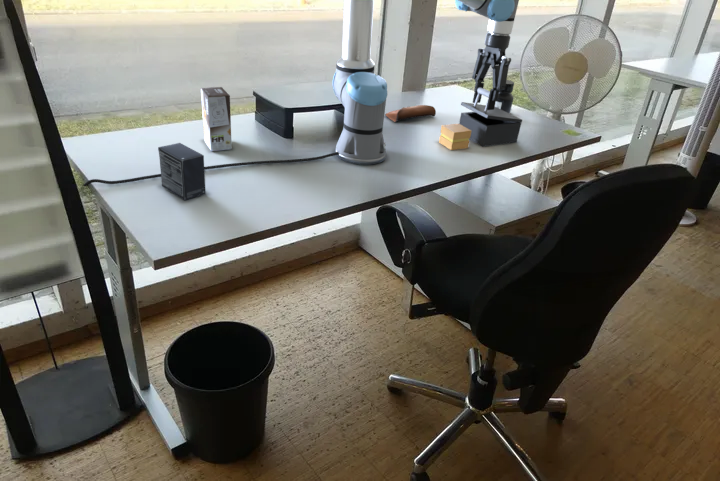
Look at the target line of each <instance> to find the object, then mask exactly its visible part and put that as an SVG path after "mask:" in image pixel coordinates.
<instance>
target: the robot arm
mask: <svg viewBox="0 0 720 481" xmlns="http://www.w3.org/2000/svg"><path fill="white" fill-rule="evenodd" d="M519 1H520V0H454V3H455V7H456V9H457V10H458V11H462V12H463V11H464V12H473V13H475V14H477V15H480V16H482V17H485V18H487V19H488V23H487V29H486V31H487V32H486V34H485V38H484V45H485V47H484V48H478V49H477V56H476V60H475V64H474V68H473V72H472V76H471V78H472V80H474V82H475V84H474V89H473V91H474V93H473V98H472V104H474V103H475V100H476V97H477V94H478V92H477V89H478V88H479V87H481V88H485V78H486V76H487V74H488V71H489V69H490V67H491V69H492V88H490V90H489V91H490V94H489V99H487V101H488V103H487V102H486V104H487V108H486V109H487V110H494V107H495V103H496V100H497V99H498V95H499V91H500V90H505V86H506V80H508V75H509V74H508V73H509V68H510V64H511V62H512V58H511V57H507V56H506V50H507V49H508V48H509V46H510V41H511V34H512V31H513V28H514V23H515V19H516V14H517V10H518V6H519ZM374 6H375V0H343V9H342V10H343V12H342V14H343V15H342V36H341V37H342V38H341V39H342V40H341V41H342V42H341V56H340V58H338V59H337V60H336V65H335V72H334V74H333V77H332V89H333V93H334V95H335V97H336V98H337V100H339V102H340V103H341V104H342V106H343V108H344V114H343V127H342V131H341V134H340V135H339V138H338V139H337V140H338V141H337V142H336V146H335V152H331V153H327V154H323V155H320V156H319V155H318V156H314V157H305V158H292V159H274V160H256V161H244V162H243V161H242V162H234V163H224V164H215V165H210V166H208V165H206V166H204V171H206V170H213V169H221V168H222V169H223V168H230V167H239V166H250V165H252V166H253V165H263V164H264V165H265V164H285V163H286V164H288V163H299V162H310V161H318V160H322V159H327V158H329V157H335V156H336V157H337V158H338V159H340V161H343V162H346V163H349V164H353V165H359V166H360V165H361V166H371V165H377V164H380V163H382V162H384V161H385V160H386V157H387V148H386V145H387V144H386V142H385V139H384V135H383V134H384V133H383V130H384V129H383V128H384V123H385V122H384V120H385V114H386V105H387V98H388V83H387V81H386V79H385V78H383V77H382V76H380V75H379V74H376V73H375V68H376V66H375V65H376V64H375V62H374V61H373V60H372V58H371V51H372V38H373V37H372V35H373V22H374V21H373V20H374ZM482 96H483V95H481V94H480V97H479V100H478V103H477V104H481V101H482ZM155 178H157V179H158V178H161V173H156V174H150V175H145V176H138V177H131V178H125V179H118V180H105V179H100V178H91V179H89V180H87V181H86V182H84V184H83V187H88V186H89V185H90V184H93V183H100V184H104V185H119V184H127V183H133V182H139V181H144V180H149V179H155Z"/></svg>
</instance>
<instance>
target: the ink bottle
mask: <svg viewBox="0 0 720 481" xmlns="http://www.w3.org/2000/svg"><path fill="white" fill-rule="evenodd" d="M514 86H515V81H514V80H510V79H507V80H506V86H505V90H500V91H499V95H498V99H497V100H496V103H495V107H497V108H499V109H501V110H503V111H505V112H507V113H509V114H511V111H512V107H513V102H514V99H515V98H514V95H513V90H514Z"/></svg>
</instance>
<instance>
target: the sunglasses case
mask: <svg viewBox="0 0 720 481" xmlns="http://www.w3.org/2000/svg"><path fill="white" fill-rule="evenodd" d="M436 114H437V111H436V108H435V107H434V106H433V105H429V104H428V105H426V104H418V105H412V106H406V107H405V106H403V107H402V108H399V109H395V110H391V111H388V112H385V114H384V116H385V117H387V119H389V120H390V121H392V122H394V123H397V122H399V121H404V120H408V119H412V118H421V117H430V116H431V117H435V116H436Z"/></svg>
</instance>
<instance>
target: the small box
mask: <svg viewBox="0 0 720 481" xmlns="http://www.w3.org/2000/svg"><path fill="white" fill-rule="evenodd" d="M157 151H158V157H159V165H160V166H159V168H160V174H161V177H160V178H161V187H162V188H164V189H166V190H167V191H168V192H171V193H172V194H174V195H175V196H177V197H178V198H180V199H181V200H183V201H187V200H191V199H194V198H197V197H200V196H204V195H206V193H207V192H206V176H205V175H206V174H205V170H204V167H205V155H204V154H202V153H201V152H199V151H196V150H195V149H193V148H191V147H189V146H187V145H185V144H183V143H181V142H177V143H172V144H168V145H167V144H166V145H162V146H158V148H157Z"/></svg>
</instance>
